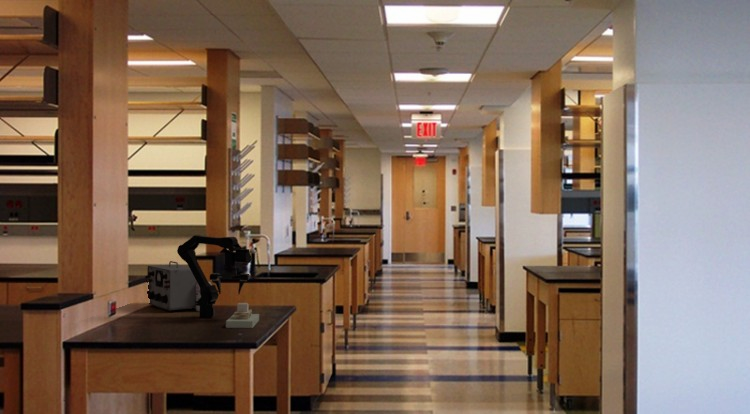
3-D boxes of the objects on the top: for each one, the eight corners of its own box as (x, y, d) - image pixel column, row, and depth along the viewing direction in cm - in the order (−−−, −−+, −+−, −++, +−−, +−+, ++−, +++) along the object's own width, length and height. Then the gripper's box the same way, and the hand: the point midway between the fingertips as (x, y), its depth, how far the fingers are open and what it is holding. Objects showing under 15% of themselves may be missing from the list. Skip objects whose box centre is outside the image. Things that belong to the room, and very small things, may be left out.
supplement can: (214, 310, 393) (215, 281, 393) (205, 312, 386) (205, 283, 385) (202, 309, 396) (202, 281, 396) (192, 311, 389) (192, 282, 389)
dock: (225, 327, 339) (226, 321, 339) (234, 320, 361) (234, 313, 361) (252, 327, 340) (252, 321, 340) (259, 320, 362) (259, 314, 362)
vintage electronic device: (143, 306, 406) (143, 260, 406) (175, 303, 417) (175, 259, 417) (166, 313, 381) (166, 264, 380) (199, 310, 392) (199, 263, 391)
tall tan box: (234, 319, 345) (234, 312, 345) (237, 315, 356) (238, 309, 356) (248, 319, 345) (248, 312, 345) (251, 315, 356) (251, 309, 356)
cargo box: (237, 311, 348) (237, 304, 348) (238, 310, 353) (238, 303, 353) (247, 311, 348) (247, 304, 348) (248, 310, 353) (248, 303, 353)
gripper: (207, 263, 357) (206, 296, 357) (246, 264, 357) (246, 296, 357) (212, 261, 368) (211, 293, 368) (250, 262, 368) (249, 293, 368)
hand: (229, 294), depth 365 cm, fingers open, 9 cm apart
